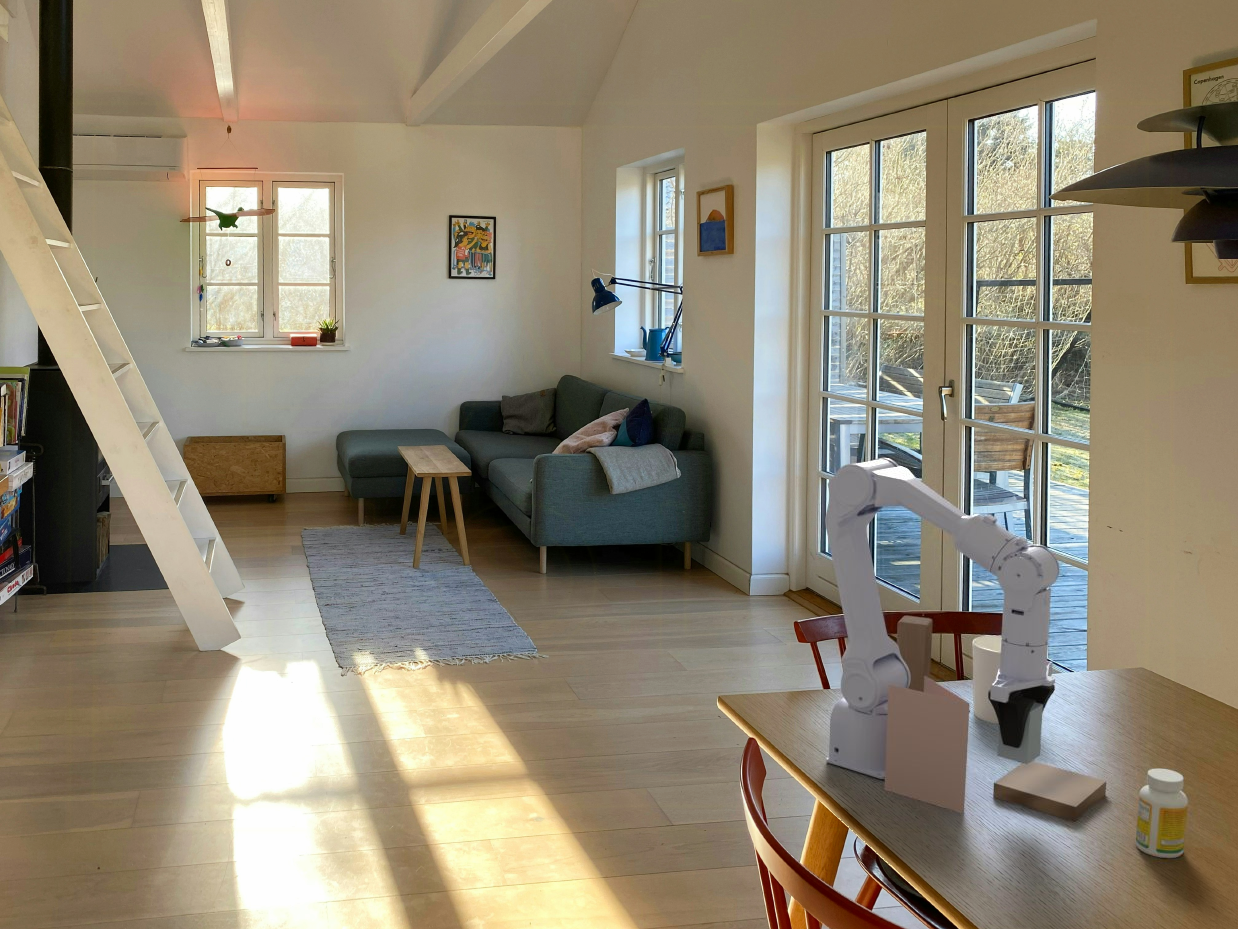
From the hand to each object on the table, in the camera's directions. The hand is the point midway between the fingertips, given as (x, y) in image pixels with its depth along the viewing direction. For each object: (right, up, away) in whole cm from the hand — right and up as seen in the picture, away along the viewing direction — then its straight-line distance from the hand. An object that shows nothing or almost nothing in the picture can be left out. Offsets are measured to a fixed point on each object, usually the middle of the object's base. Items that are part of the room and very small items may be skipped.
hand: (1018, 740), depth 152 cm
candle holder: (+9, -5, +36) cm, 37 cm away
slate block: (0, -2, 0) cm, 2 cm away
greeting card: (-11, -9, +5) cm, 15 cm away
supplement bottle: (+14, -11, -10) cm, 20 cm away
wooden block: (-5, -6, +27) cm, 28 cm away
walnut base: (+6, -9, +5) cm, 12 cm away
